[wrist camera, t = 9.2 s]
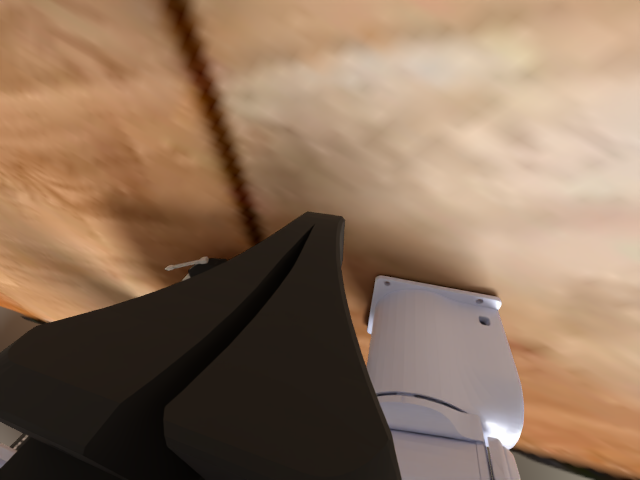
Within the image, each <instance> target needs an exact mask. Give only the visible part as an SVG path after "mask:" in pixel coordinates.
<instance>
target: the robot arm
mask: <svg viewBox="0 0 640 480" xmlns="http://www.w3.org/2000/svg"><path fill="white" fill-rule="evenodd" d="M344 227H345V220H344V218H343V217H342V216H335V215H328V214H321V213H314V212H306V213H304V214H303V215H301V216H300V217H298V218H297V219H295V220H294V221H292V222H291V223H289V224H288V225H287V226H285V227H284V228H282V229H280V230H279V231H277V232H276V233H274V234H273V235H271V236H270V237H268V238H267V239H265V240H263V241H262V242H260V243H258V244H257V245H255V246H253V247H252V248H250V249H248V250H246V251H245V252H243V253H241V254H240V255H238V256H236V257H234V258H232V259H230V260H228V261H226V262H224V263H222V264H220V265H218V266H216V267H214V268H212V269H210V270H208V271H205V272H203V273H201V274H198V275H196V276H193V277H191V278H188V279H186V280H184V281H181V282H179V283H176V284H174V285H171V286H169V287H166V288H163V289H161V290H158V291H155V292H152V293H149V294H146V295H144V296H141V297H138V298H134V299H131V300H128V301H125V302H122V303H119V304H116V305H112V306H109V307H106V308H102V309H99V310H95V311H91V312H88V313H84V314H80V315H77V316H73V317H69V318H65V319H62V320H58V321H54V322H51V323H47V324H42V325H38V326H36V327H34V328H33V329H31V330H30V331H28V332H27V333H25V334H24V335H23V336H22V337H20V338H19V339H18V340H17V341H15V342H14V343H12V344H11V345H10V346H8V347H7V348H6V349H4V350H3V351H2V352H0V422H2V423H4V424H6V425H8V426H10V427H12V428H14V429H16V430H18V431H20V432H22V433H24V434H26V435H28V436H30V438H29V439H28V440H27V441H26V443H25V444H24V445H23V446H22V447H21V448H20V449H19V450H18V451H16V450H14V449H12V448H10V447H8V446H6V445H4V444H2V443H0V480H492V476H491V470H490V465H489V459H488V453H487V448H486V446H487V447H489V450H490V456H491V459H490V463H491V469H492V475H493V480H521V479H520V475H519V472H518V469H517V465H516V461H515V459H514V456H513V454H512V453H511V452H510V451H509V450H508V449H510V448H512V447H513V446H514V445H515V444H516V443H517V441H518V439H519V437H520V434H521V431H522V428H523V421H524V402H523V392H522V387H521V383H520V379H519V375H518V372H517V369H516V366H515V363H514V360H513V356H512V353H511V350H510V347H509V344H508V341H507V337H506V334H505V331H504V328H503V325H502V321H501V318H500V315H499V312H498V310H499V308H500V306H501V305H502V303H501V300H500V298H498V297H496V296H490V295H485V294H480V293H474V292H469V291H463V290H458V289H453V288H447V287H442V286H436V285H431V284H426V283H420V282H415V281H409V280H404V279H399V278H393V277H388V276H382V275H380V276H377V277H376V279H375V285H374V291H373V297H372V303H371V309H370V315H369V321H368V327H367V332H368V333H370V334H371V341H370V347H369V354H368V361H367V368H366V365H365V362H364V359H363V356H362V353H361V350H360V347H359V343H358V340H357V337H356V333H355V330H354V327H353V323H352V320H351V316H350V312H349V308H348V304H347V299H346V294H345V290H344V284H343V278H342V270H341V266H342V261H343V245H344ZM387 282H389V283H387ZM478 299H481V300H478Z"/></svg>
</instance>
